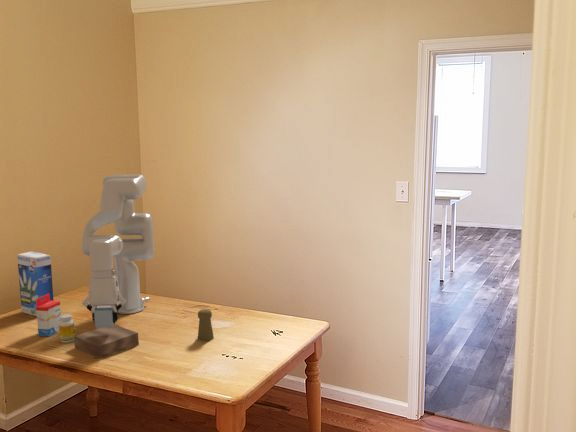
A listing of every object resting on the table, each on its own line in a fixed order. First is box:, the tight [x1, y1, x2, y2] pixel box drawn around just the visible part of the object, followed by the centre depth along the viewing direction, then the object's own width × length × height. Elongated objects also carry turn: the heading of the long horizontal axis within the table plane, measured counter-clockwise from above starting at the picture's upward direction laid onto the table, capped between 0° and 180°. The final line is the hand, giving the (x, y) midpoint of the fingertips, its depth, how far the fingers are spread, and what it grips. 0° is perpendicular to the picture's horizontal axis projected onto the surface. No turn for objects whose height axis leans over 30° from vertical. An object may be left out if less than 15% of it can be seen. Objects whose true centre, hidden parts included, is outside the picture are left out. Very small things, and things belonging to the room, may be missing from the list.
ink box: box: [36, 293, 62, 337], centre depth 221 cm, size 8×5×15 cm, turn 168°
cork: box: [197, 308, 215, 342], centre depth 214 cm, size 6×6×11 cm
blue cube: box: [94, 305, 116, 329], centre depth 206 cm, size 6×6×6 cm
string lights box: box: [16, 251, 54, 317], centre depth 245 cm, size 13×8×26 cm, turn 58°
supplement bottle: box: [58, 313, 76, 344], centre depth 213 cm, size 5×5×10 cm
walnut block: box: [74, 324, 140, 360], centre depth 207 cm, size 16×16×5 cm
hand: (105, 321), depth 206 cm, fingers closed on blue cube, 6 cm apart
